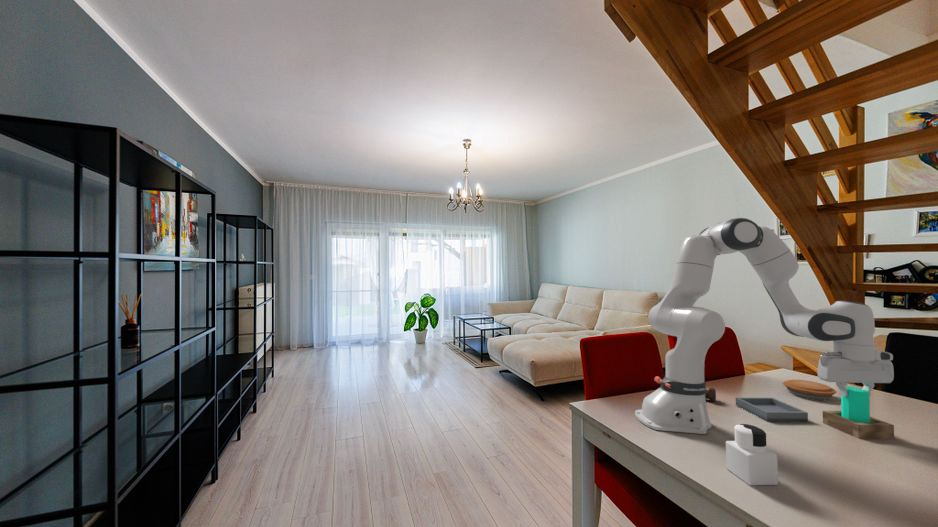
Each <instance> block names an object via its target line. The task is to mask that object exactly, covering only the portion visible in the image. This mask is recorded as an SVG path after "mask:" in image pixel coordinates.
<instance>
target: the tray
mask: <svg viewBox="0 0 938 527" xmlns="http://www.w3.org/2000/svg"><path fill="white" fill-rule="evenodd" d="M736 405H737V406H736ZM735 406H736V407H738V406H739V407H738V408H740V409H742V408H743V409H742V410H743V411H745V410H746V412H747V411H748V412H747V413H749V412H750V413H749V414H751V413H752V415H753V414H754V415H753V416H755V415H756V416H755V417H757V416H758V418H759V419H762V420H763V421H765V422H793V423H794V422H800V423H801V422H809V412H808V411H805V410H803V409H801V408H798V407H795V406H793V405H791V404H788V403H786V402H783V401H782V400H779V399H777V398H774V397H735Z"/></svg>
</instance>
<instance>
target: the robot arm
mask: <svg viewBox="0 0 938 527" xmlns="http://www.w3.org/2000/svg"><path fill="white" fill-rule="evenodd" d="M737 252H739V253H741V254H742V255H743V256H745V257H746V260H747V261H748V263H750V264H749V265H751V267H752V268H753V270H754V271H755V273H756V274H757V275H758V277H759V279H760V280H761V283H762V285H763V287H764V289H765V290H766V292H767V294H768V296H769V298H770V299H771V301H772V303H773V305H775V308H776V309H777V311H778V314H779V320H780V324H781V327H782V328H783V329H784V331H785V332H787V333H788V334H790V335H792V336H795V337H802V338H807V339H811V340H815V341H821V342H833V351H832V352H831V351H825V352H823V353H822V354H821V355H820V356H819V360H818V364H817V377H818V378H819V380H820V381H824V382H828V383H835V385H836V386H837V388H838V390H839V395H840V396H841V395H842V396H849V391H848V390H847V389H846V387H845V386H848V383H856V384H857V383H858V384H859V383H862V384H863V386H862V388H861V389H862V390H867V391H868V392H869V393H870V394H871V392H872V391H873V389H874V388H875V384H891V383H892V382H893V381H894V379H895V372H894V371H895V370H894V369H895V368H894V364H893V363H892V361H893V360H894V355H893V354H892V353H891V352H888V351H884V350H880V349H879V348H876V343H875V340H874V334H875V332H876V326H875V324H876V323H875V322H876V321H875V318H874V312H873V310H872V307H871V306H869V305H867V304H866V303H862V302H857V301H856V302H855V301H848V300H836V301H834V303H832V304H831V305H828V306H826V307H824V308H820V309H810V308H808V307H806V306H804V305H802V304H801V303H800V301H799V299H798V298H797V296H796V294H795V293H794V292H793V290H792V288H791V286H790V280H791V279H792V278H794V276H795V275H796V274H797V272H798V271H799V266H800V265H799V263H798V261H797V258H796V255H794V253H793V252H792V250H791V248H789V246H788V245H787V244H786V242H784V241H783V239H782V238H780V236H778V235H777V234H776V233H775V232H774V231H773V230H772V229H771V228H770V227H767V226H760V225H758V224H757V223H756V222H755V221H753V220H751V219H749V218H746V217H745V218H744V217H738V218H737V217H735V218H731V219H729V220H725V221H721V222H718V223H715V224H713V225H711V226H708V227H707V228H705V229H703V230H701V231H700V233H699V234H695V235H690V236H687V237H686V238H684V240H683V241H682V243H681V245H680V248H679V250H678V252H677V256H676V260H675V265H674V270H673V274H672V279H671V281H670V282H671V283H670V286H669V288H668V289H667V292H666V293H665V295H664V296H663V297H662V299H661V300H660V301H659V302H658V303H657V304H655V305H654V306H653V307H652V308H650V309H649V312H648V316H647V318H648V319H647V321H648V323H649V325H650V327H651V328H653V329H654V330H655V331H658V332H659V333H661V334H664V335H668V336H672V337H676V339H677V340H676V344H675V346H674V348H672V349H670V350H668V351H667V352H666V354H665V356H664V357H665V376H664V377H663V379H662V378H661V377H660V376H655V377H654V379H653V380H654V382H656V383H657V384H660V387H658V388H657V389H655V390H654V391H652V392H651V393H650V394H648V395H646V396H645V397H644V398H643V401H642V404H641V409H636V410H635V412H634V416H635V418H636V419H637V420H638V421H640V422H641V423H642V424H643V425H645V426H646V427H648V428H650V429H652V430H655V431H656V430H657V431H664V432H674V433H675V432H677V433H688V434H699V435H706V434H707V433H708V430H710V429H712V423H711V420H710V417H709V413H708V409H707V408H708V407H707V402H706V400H707V399H705V397H706V390H707V382H706V381H705V360H706V355H707V353H708V350H709V348H710V347H711V346H713V345H712V344H714V343H715V342H717V341H719V340H721V338H722V337H723V335H724V333H725V332H726V323H725V320H724V318H723V317H722V315H721V314H720V313H718V312H717V311H714V310H711V309H708V308H705V307H700V306H694V305H695V304H696V302H697V301H698V300H699V299H700V298H702V297H704V296H705V295H706V294H708V293H709V291H710V289H711V284H712V279H713V272H714V266H715V261H716V257H717V256H720V255H726V254H727V255H728V254H729V255H731V254H734V253H737Z"/></svg>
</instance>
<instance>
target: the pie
mask: <svg viewBox="0 0 938 527" xmlns="http://www.w3.org/2000/svg"><path fill="white" fill-rule="evenodd" d="M782 384H783V386H784V387H785V388H786V389H787V391H788V392H789V393H790V394H791V393H792V395H793V394H794V395H793V396H796V395H797V396H796V397H799V396H800V397H799V398H802V397H804V399H807V398H808V400H812V399H814V400H813V401H828V400H830V399H831V398H832V397H833V395H835V394H837V390H835V389H834V388H833V387H830V386H829V385H827V384H825V383H821V382H817V381H811V380H805V379H789V380H785V381H783V382H782Z"/></svg>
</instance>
